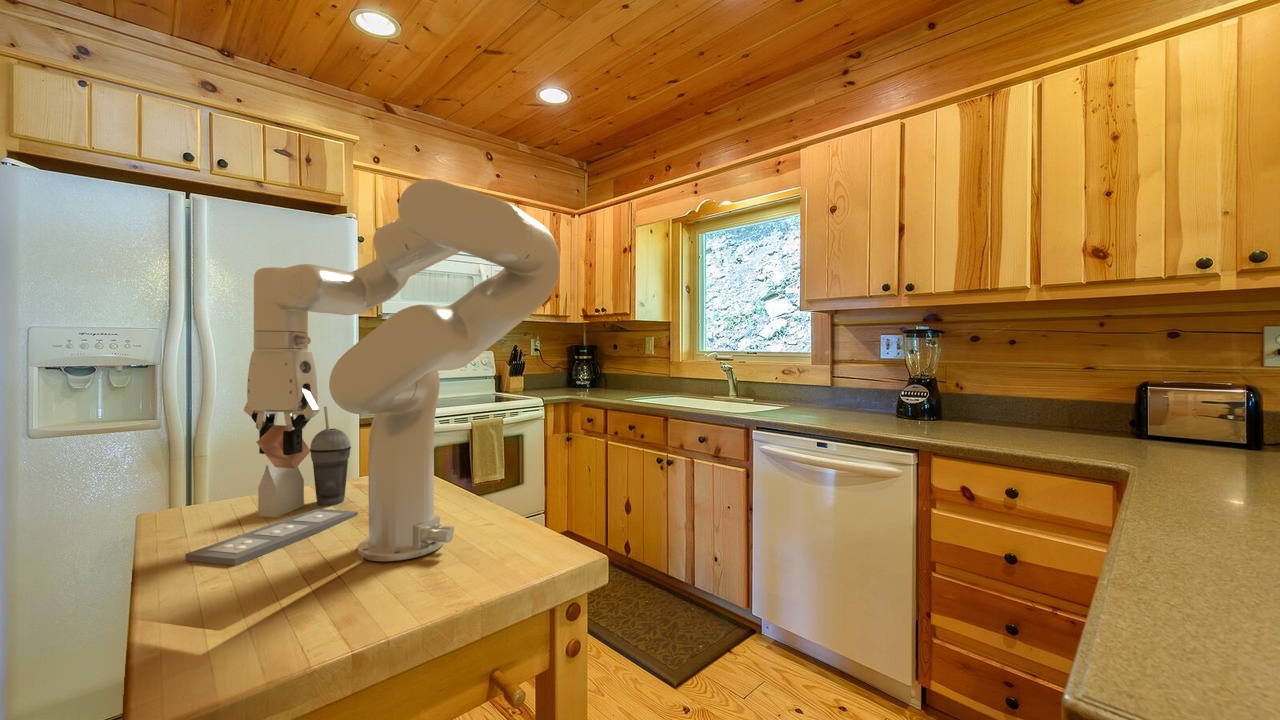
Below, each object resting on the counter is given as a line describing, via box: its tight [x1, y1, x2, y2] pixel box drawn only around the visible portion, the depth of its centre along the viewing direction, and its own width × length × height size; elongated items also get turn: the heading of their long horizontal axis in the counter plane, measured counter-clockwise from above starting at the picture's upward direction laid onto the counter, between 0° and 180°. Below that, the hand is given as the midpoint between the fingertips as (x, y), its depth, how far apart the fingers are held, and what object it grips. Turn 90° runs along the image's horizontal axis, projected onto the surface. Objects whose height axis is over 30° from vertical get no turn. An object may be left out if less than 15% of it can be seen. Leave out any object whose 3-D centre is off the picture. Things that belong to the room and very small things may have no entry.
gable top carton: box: [257, 463, 305, 518], centre depth 102 cm, size 4×7×10 cm, turn 173°
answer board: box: [184, 508, 359, 567], centre depth 89 cm, size 9×24×1 cm, turn 168°
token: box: [256, 424, 311, 469], centre depth 90 cm, size 4×4×6 cm
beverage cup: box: [309, 405, 352, 507], centre depth 107 cm, size 7×7×20 cm
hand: (281, 452), depth 89 cm, fingers closed on token, 4 cm apart
